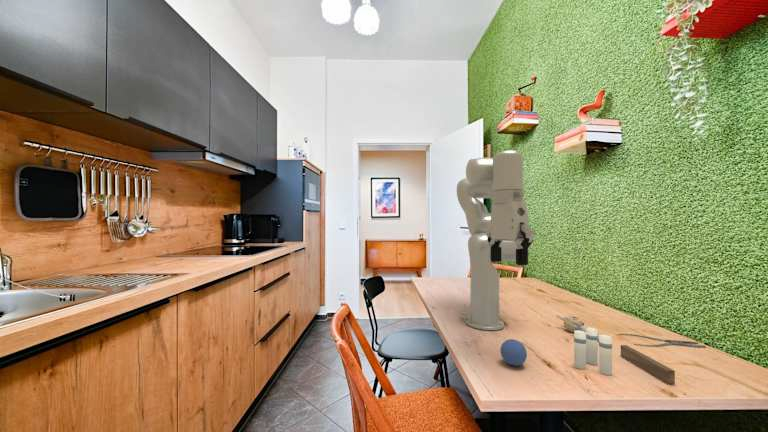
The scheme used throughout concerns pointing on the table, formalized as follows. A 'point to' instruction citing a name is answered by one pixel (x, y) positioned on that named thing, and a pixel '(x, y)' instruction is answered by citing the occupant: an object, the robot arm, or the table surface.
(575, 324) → the toy
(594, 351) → the pin back left
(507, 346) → the ball
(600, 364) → the pin back right
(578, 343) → the pin front
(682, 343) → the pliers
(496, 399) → the table surface
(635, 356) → the bar
